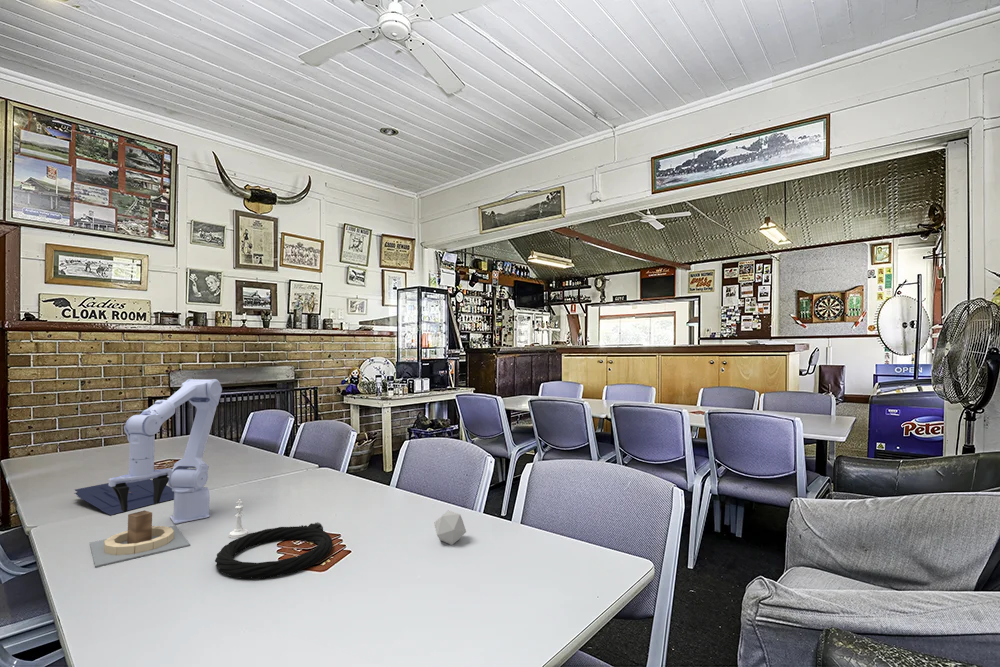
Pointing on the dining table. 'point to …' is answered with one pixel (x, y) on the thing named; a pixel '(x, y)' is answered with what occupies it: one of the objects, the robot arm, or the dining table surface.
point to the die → (450, 527)
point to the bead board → (120, 558)
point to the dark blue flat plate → (137, 497)
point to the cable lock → (274, 567)
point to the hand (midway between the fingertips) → (140, 506)
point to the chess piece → (238, 523)
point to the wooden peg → (139, 527)
